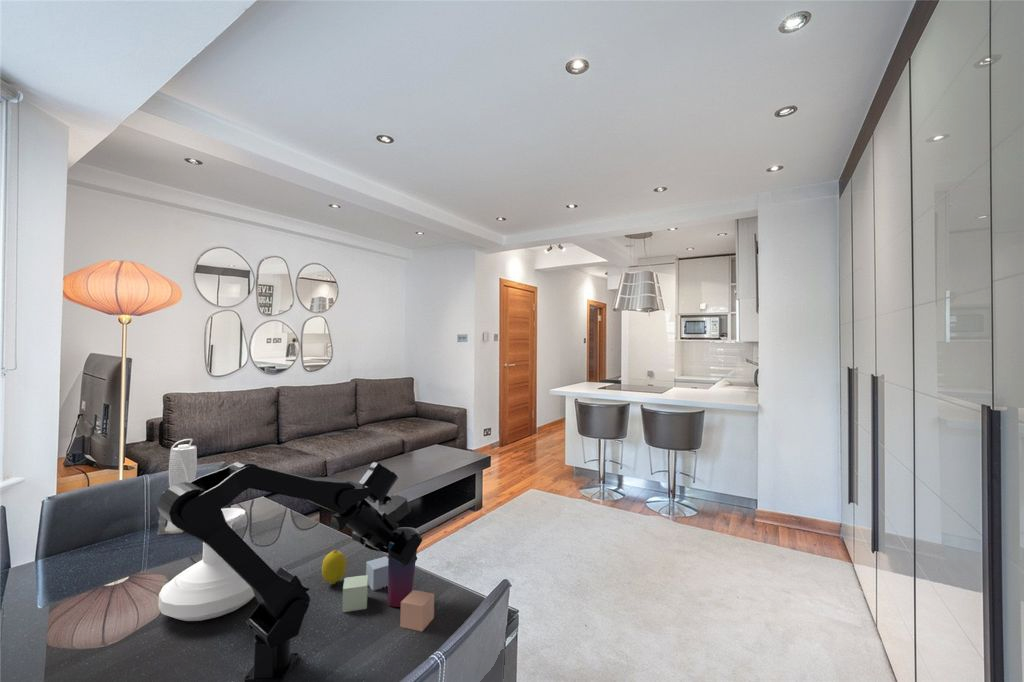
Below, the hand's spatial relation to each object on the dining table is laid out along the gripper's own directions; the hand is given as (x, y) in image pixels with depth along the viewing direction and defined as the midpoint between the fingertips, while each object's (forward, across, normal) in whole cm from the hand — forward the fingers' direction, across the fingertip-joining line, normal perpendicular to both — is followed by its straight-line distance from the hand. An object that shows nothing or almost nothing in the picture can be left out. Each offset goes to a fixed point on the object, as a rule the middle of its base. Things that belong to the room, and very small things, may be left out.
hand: (406, 556), depth 99 cm
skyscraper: (-8, +89, +22) cm, 92 cm away
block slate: (+7, +10, +7) cm, 14 cm away
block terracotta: (+4, -9, +10) cm, 14 cm away
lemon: (+2, +19, +12) cm, 22 cm away
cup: (+5, 0, +8) cm, 10 cm away
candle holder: (-13, +31, +27) cm, 43 cm away
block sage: (+1, +7, +13) cm, 15 cm away
